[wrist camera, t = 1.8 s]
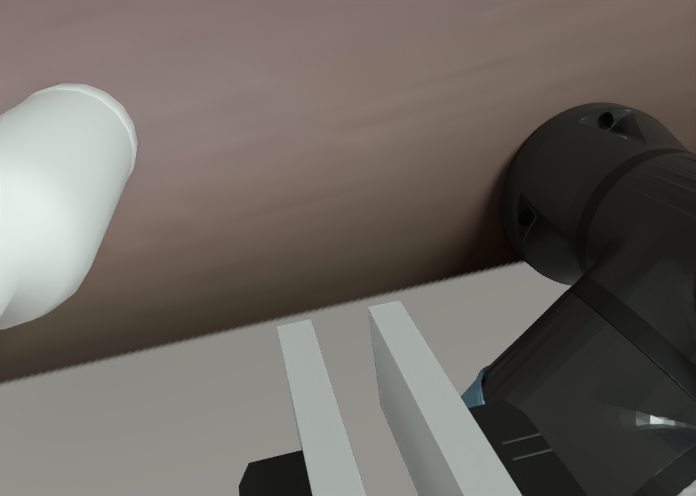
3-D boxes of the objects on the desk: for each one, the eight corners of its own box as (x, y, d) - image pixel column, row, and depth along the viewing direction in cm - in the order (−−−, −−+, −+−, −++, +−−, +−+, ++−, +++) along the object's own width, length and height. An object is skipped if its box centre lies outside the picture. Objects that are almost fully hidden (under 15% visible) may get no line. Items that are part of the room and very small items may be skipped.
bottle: (76, 216, 46) (-108, 537, 19) (-11, 130, 43) (-381, 369, 16) (163, 148, 46) (101, 380, 19) (82, 56, 43) (-139, 173, 15)
